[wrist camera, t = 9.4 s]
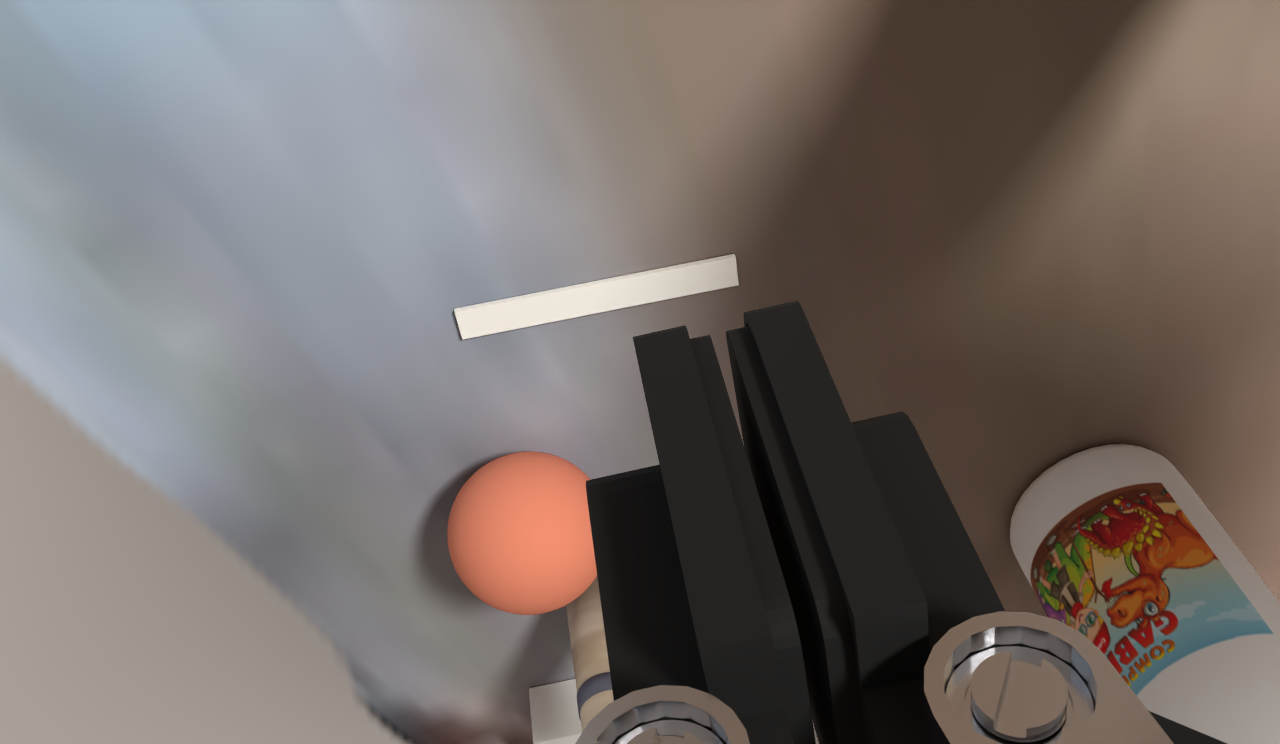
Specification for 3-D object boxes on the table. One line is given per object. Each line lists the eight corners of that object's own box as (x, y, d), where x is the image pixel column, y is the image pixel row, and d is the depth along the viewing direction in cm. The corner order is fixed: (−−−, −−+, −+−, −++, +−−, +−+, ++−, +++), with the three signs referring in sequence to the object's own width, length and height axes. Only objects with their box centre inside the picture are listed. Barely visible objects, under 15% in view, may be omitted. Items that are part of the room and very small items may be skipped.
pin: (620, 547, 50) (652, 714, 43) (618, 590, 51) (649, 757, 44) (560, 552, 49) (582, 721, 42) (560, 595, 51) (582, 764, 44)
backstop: (808, 630, 54) (826, 682, 52) (811, 658, 55) (828, 711, 53) (528, 688, 54) (533, 743, 51) (537, 715, 55) (541, 770, 53)
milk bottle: (1195, 428, 50) (1552, 861, 34) (1152, 558, 55) (1450, 994, 39) (1019, 448, 49) (1300, 901, 33) (991, 578, 54) (1227, 1031, 38)
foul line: (734, 253, 42) (735, 256, 42) (737, 282, 43) (738, 285, 42) (454, 308, 42) (454, 311, 41) (462, 336, 42) (462, 339, 42)
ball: (624, 592, 47) (658, 501, 43) (506, 675, 43) (531, 584, 39) (527, 490, 49) (550, 395, 45) (408, 561, 46) (421, 464, 41)
